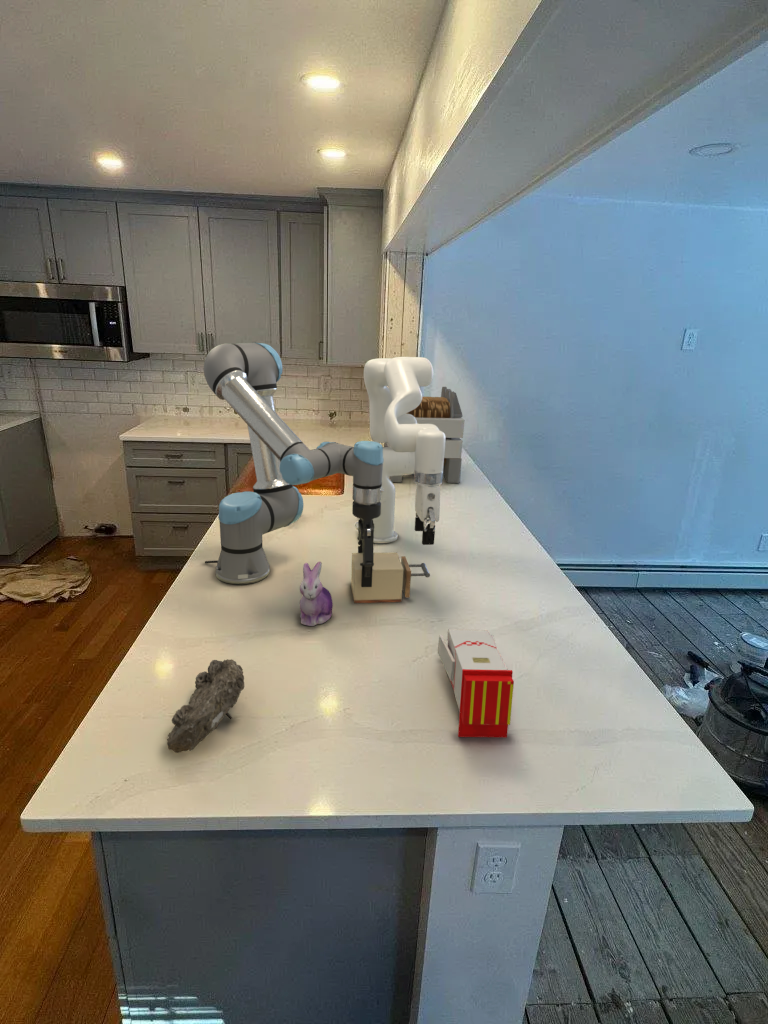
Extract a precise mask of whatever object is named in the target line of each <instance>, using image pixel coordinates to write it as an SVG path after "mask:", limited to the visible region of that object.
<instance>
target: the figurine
mask: <svg viewBox="0 0 768 1024" xmlns="http://www.w3.org/2000/svg"><path fill="white" fill-rule="evenodd" d="M322 564H323V563H322V561H318V562H317V563H316V564H315V565H314V566H313V568H312V569H311V566H310V565H309V563H307V562H305V563H303V566H302V572H303V577H302V580H301V582H300V585H299V592H300V594H301V598H300V600H299V609H300V613H299V614H300V615H299V618H300V624H302V625H304V626H309V627H314V626H317V625H322V624H324V623H326V622H328V621H329V620H330V619H331V617H332V615H333V609H334V608H333V607H334V603H333V597H332V594H331V592H330V591H329V590H328V589H327V588H326V587H325V586H323V584H322V581H321V579H320V574H321V571H322V566H323V565H322Z"/></svg>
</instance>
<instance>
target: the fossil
mask: <svg viewBox="0 0 768 1024" xmlns="http://www.w3.org/2000/svg"><path fill="white" fill-rule="evenodd" d="M243 670H244V669H243V667H242V665H240V664H237V662H236V661H235V660H234V659H232V658H231V659H227V658H226V659H224V660H223V661H222V660H217V659H212V660H211V661H210V663H209V665H208V666H207V671H201V672H199V673H198V674H197V675H196V676H195V680H194V684H195V685H194V687H195V689H194V690H193V693H192V694H191V697H190V698H189V700H188V704H184V705H182V706H181V707H180V709H177V710H176V711H175V713H174V715H173V716H172V718H171V723H172V724H173V727H172V730H171V731H170V732H168V734H167V738H166V741H167V742H166V745H167V749H168V750H169V751H173V752H174V753H176V754H178V753H182V752H188V751H189V752H192V751H193V750H195V748H196V747H197V746H199V744H200V743H201V742H203V741H204V740H205V739H206V738H207V737H208V736H209V735H210V734H211V733H212V732H214V730H215V729H217V727H218V726H219V724H220V722H221V721H222V720H223V719H224V718H225V716H226V717H227V719H229V720H233V717H232V715H230V714H229V710H230V709H231V708H234V706H235V704H236V703H237V702H238V699H239V697H240V695H241V693H242V691H243V690H245V689H244V688H245V675H244V671H243Z"/></svg>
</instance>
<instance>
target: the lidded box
mask: <svg viewBox="0 0 768 1024" xmlns="http://www.w3.org/2000/svg"><path fill="white" fill-rule="evenodd" d="M373 555H374V566H373V567H372V587H361V580H362V566H360V563H363V553H358V552H351V574H350V575H351V576H350V586H351V592H352V599H353V604H373V603H375V604H377V603H402V601H403V600H402V599H403V598H402V597H403V589H402V583H403V567H402V564H401V558H400V556H399V554H398V551H397V552H373Z"/></svg>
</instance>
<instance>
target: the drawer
mask: <svg viewBox="0 0 768 1024" xmlns="http://www.w3.org/2000/svg"><path fill="white" fill-rule="evenodd" d="M400 561H401V564H402V567H403V583H402V593H403V595H404V598H406V599H407V598H410V597H411V581H412V580H411V579H412V577H425V578H427V579H428V578H430V577H431V573H430V572H429V569H428V567H427V564H426V563H425V562H421V563H419V564H417V563H416V564H415V563H414V564H409V561H408V559H407V556H405V555H402V556H401V557H400ZM411 568H421V570H422V572H421V573H417V572H416V573H412V570H411Z"/></svg>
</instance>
